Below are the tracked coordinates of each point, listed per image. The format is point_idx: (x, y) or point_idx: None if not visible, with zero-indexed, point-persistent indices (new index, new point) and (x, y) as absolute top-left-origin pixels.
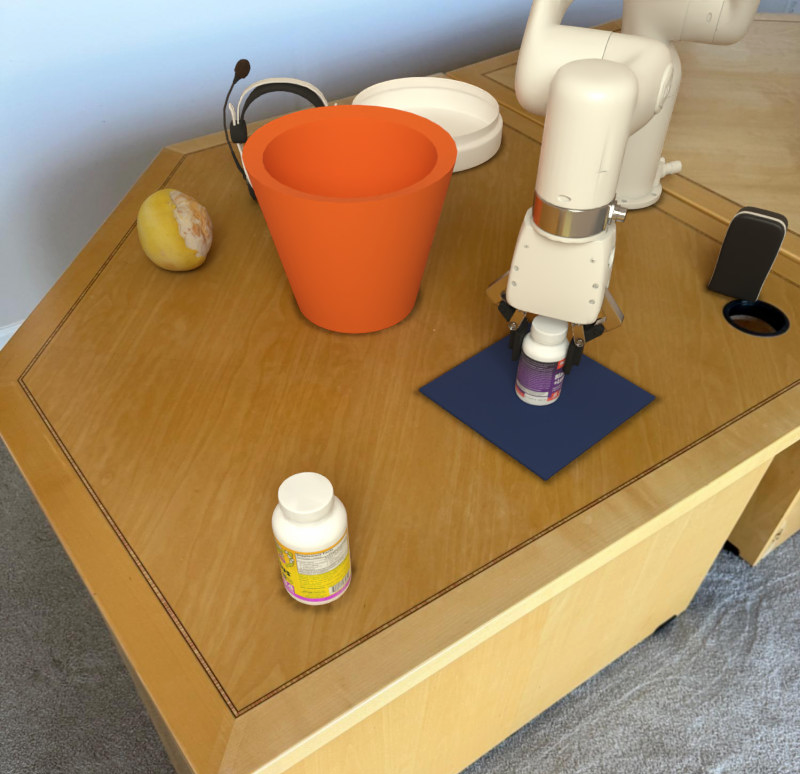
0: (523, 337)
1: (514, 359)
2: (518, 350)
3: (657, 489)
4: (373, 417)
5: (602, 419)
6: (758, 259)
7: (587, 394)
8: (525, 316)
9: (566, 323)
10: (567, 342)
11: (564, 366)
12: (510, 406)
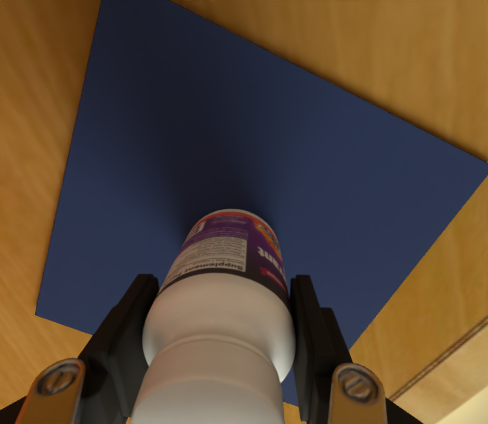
0: (140, 350)
1: None
2: None
3: (469, 371)
4: (21, 377)
5: (374, 276)
6: None
7: (335, 218)
8: (92, 394)
9: (272, 418)
10: (285, 345)
11: None
12: None
